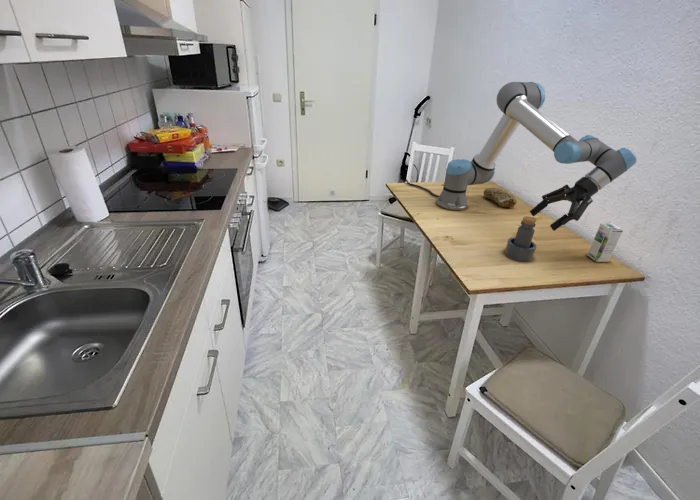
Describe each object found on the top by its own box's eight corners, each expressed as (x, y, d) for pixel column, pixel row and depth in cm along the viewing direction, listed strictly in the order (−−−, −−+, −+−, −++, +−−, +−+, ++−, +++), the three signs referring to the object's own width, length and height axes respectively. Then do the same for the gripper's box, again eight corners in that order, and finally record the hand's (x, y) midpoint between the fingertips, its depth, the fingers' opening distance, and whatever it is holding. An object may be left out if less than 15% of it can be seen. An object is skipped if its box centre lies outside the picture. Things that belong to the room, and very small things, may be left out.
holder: (500, 254, 144) (504, 242, 142) (510, 246, 151) (513, 234, 149) (527, 264, 138) (531, 252, 136) (535, 255, 145) (540, 243, 143)
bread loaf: (517, 210, 192) (503, 191, 207) (519, 198, 187) (505, 179, 202) (492, 214, 193) (480, 194, 208) (493, 201, 188) (482, 182, 203)
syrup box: (586, 255, 148) (599, 222, 141) (599, 255, 148) (613, 222, 142) (595, 262, 143) (610, 229, 136) (609, 262, 143) (624, 229, 137)
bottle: (528, 257, 141) (539, 222, 134) (512, 255, 142) (523, 220, 135) (525, 250, 146) (536, 216, 139) (510, 248, 147) (520, 214, 140)
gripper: (620, 202, 124) (565, 241, 129) (573, 180, 146) (528, 214, 151) (612, 187, 121) (557, 228, 126) (565, 166, 142) (519, 202, 148)
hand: (541, 220), depth 138 cm, fingers open, 13 cm apart
